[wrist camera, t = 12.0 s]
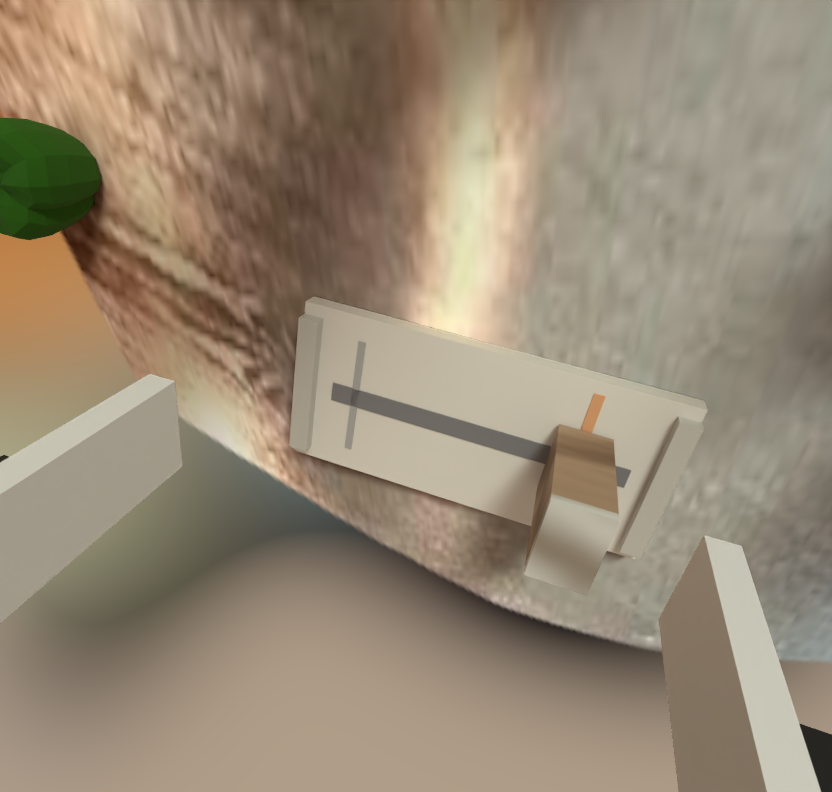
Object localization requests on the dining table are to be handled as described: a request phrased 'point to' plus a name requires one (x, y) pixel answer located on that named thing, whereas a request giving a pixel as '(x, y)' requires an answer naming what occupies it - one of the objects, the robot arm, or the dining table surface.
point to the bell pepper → (43, 179)
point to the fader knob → (573, 510)
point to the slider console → (478, 416)
